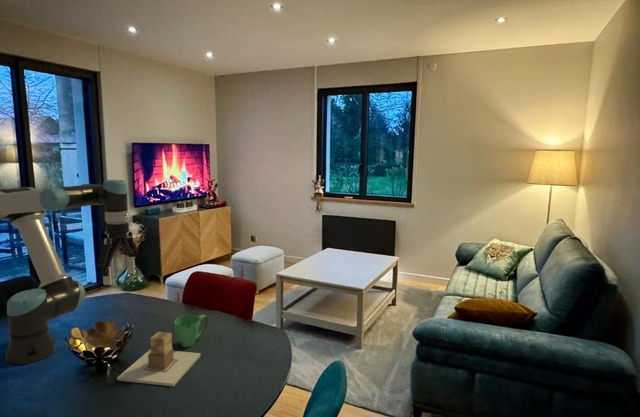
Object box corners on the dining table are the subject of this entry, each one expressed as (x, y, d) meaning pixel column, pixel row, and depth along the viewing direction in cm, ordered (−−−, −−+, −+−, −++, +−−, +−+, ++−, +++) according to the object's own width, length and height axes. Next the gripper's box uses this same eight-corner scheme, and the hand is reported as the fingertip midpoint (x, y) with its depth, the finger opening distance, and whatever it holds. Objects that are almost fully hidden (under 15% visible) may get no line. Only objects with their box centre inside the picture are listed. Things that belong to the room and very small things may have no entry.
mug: (186, 352, 151) (185, 327, 149) (169, 345, 156) (168, 321, 154) (214, 337, 163) (214, 314, 162) (198, 332, 168) (197, 309, 167)
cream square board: (117, 380, 132) (116, 363, 131) (151, 351, 151) (150, 336, 151) (173, 386, 129) (172, 369, 128) (200, 355, 149) (200, 340, 148)
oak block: (151, 354, 137) (150, 338, 136) (159, 347, 142) (158, 331, 141) (164, 355, 136) (164, 339, 136) (172, 348, 141) (171, 332, 141)
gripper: (103, 229, 131) (106, 290, 134) (146, 217, 156) (148, 269, 159) (82, 228, 132) (86, 289, 135) (128, 216, 157) (131, 268, 160)
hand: (120, 278), depth 147 cm, fingers open, 13 cm apart
